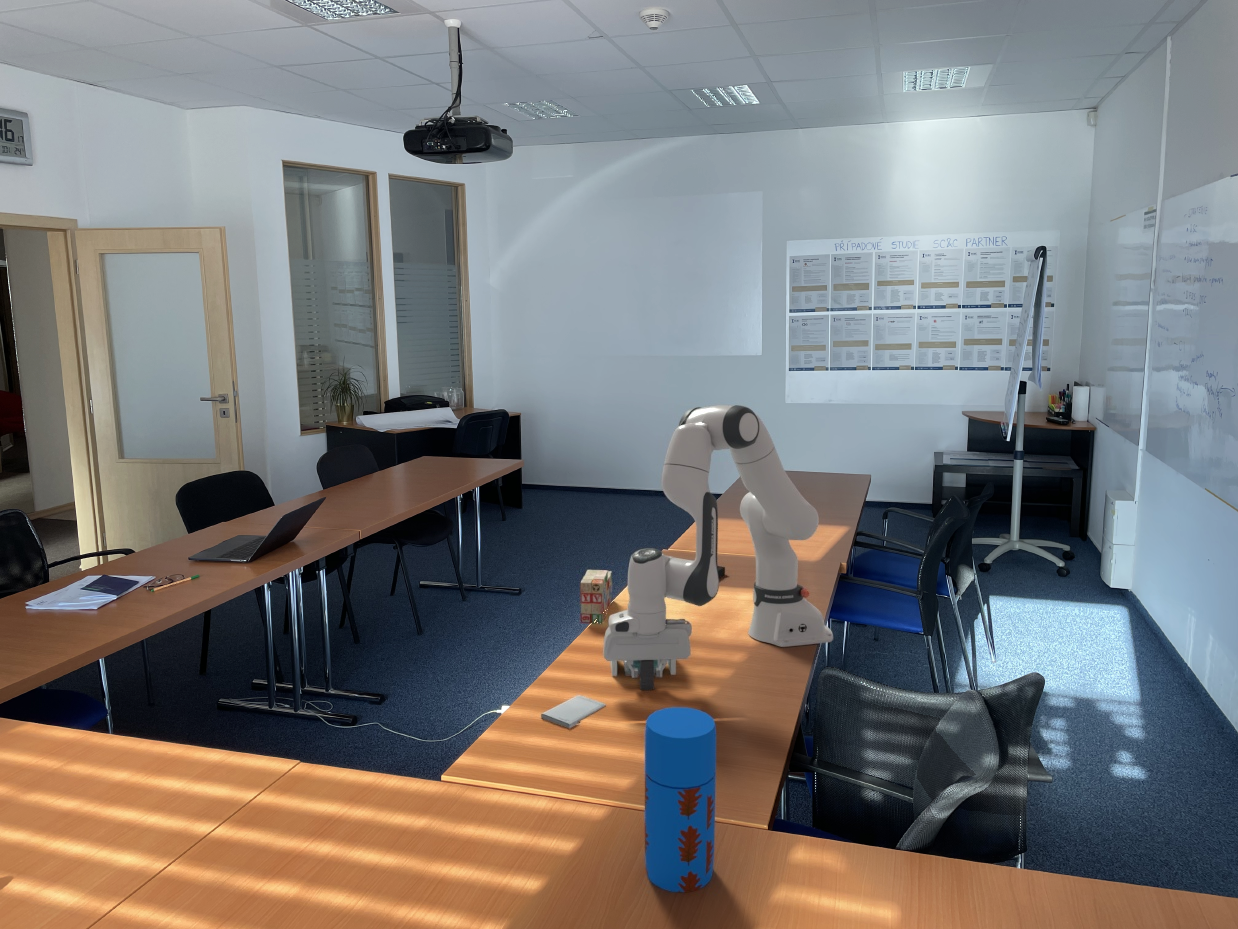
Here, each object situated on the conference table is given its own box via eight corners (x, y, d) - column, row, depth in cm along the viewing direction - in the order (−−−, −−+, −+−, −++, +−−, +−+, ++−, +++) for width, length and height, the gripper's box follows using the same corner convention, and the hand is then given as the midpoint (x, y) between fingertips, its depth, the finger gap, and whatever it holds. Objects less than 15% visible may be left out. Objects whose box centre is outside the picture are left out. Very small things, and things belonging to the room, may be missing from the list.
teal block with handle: (657, 655, 224) (657, 629, 223) (666, 689, 204) (666, 660, 203) (622, 656, 224) (622, 630, 223) (627, 690, 204) (627, 661, 203)
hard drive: (569, 724, 186) (606, 703, 196) (540, 713, 191) (577, 693, 201) (569, 731, 186) (606, 710, 196) (540, 720, 191) (577, 700, 201)
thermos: (641, 852, 144) (641, 707, 139) (706, 848, 144) (708, 705, 140) (649, 895, 133) (649, 740, 129) (719, 891, 134) (722, 737, 130)
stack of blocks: (592, 599, 271) (592, 560, 269) (612, 600, 270) (612, 561, 268) (580, 623, 250) (580, 581, 248) (602, 624, 249) (602, 582, 247)
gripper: (689, 614, 206) (689, 670, 209) (602, 616, 205) (602, 672, 208) (693, 623, 200) (693, 681, 203) (603, 625, 199) (604, 683, 201)
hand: (646, 676), depth 205 cm, fingers open, 4 cm apart
